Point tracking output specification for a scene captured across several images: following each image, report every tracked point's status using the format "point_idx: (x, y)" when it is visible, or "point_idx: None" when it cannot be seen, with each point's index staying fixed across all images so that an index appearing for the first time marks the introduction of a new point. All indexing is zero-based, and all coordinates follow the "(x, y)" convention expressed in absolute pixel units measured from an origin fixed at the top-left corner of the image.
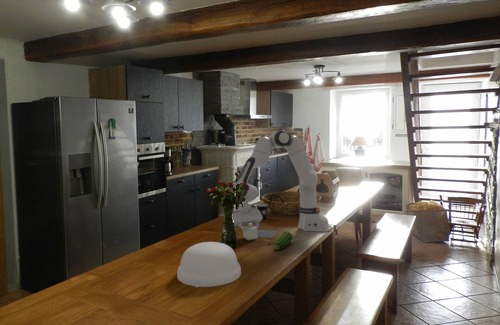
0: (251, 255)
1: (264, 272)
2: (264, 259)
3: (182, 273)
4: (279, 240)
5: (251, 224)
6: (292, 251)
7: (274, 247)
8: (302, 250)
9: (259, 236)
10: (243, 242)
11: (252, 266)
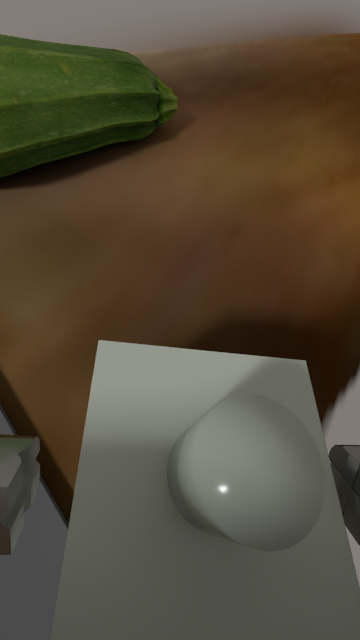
0: (315, 159)
1: (317, 57)
2: (274, 104)
3: None
4: (123, 57)
5: (220, 403)
6: None
7: (171, 108)
8: None
9: None
10: None
11: (343, 95)
